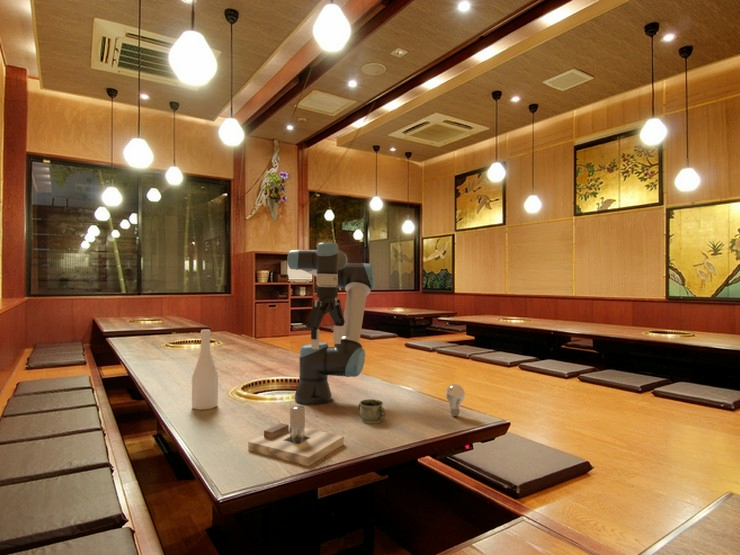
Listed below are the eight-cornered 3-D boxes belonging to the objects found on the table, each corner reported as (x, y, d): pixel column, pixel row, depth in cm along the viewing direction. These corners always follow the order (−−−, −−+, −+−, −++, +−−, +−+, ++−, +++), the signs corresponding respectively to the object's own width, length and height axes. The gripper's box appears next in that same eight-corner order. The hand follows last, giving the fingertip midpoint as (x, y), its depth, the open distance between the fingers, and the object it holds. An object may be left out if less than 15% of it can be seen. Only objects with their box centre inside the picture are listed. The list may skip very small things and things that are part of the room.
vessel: (350, 419, 161) (350, 402, 161) (365, 413, 168) (365, 396, 168) (377, 426, 154) (378, 408, 154) (391, 420, 161) (392, 402, 161)
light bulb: (453, 420, 161) (453, 387, 161) (441, 415, 167) (442, 383, 167) (468, 417, 164) (468, 385, 164) (456, 412, 170) (456, 381, 170)
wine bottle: (187, 406, 173) (188, 329, 173) (210, 401, 180) (211, 327, 180) (198, 412, 167) (199, 332, 167) (222, 406, 174) (223, 330, 174)
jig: (248, 450, 132) (248, 434, 132) (287, 431, 148) (287, 418, 148) (308, 466, 121) (308, 449, 121) (343, 444, 137) (343, 429, 137)
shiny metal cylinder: (286, 448, 133) (287, 408, 133) (295, 443, 137) (296, 404, 137) (298, 451, 131) (298, 410, 131) (307, 446, 135) (307, 406, 135)
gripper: (315, 287, 145) (314, 352, 145) (354, 285, 167) (353, 342, 167) (296, 286, 149) (296, 350, 149) (337, 285, 171) (336, 340, 171)
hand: (326, 346), depth 158 cm, fingers open, 13 cm apart
